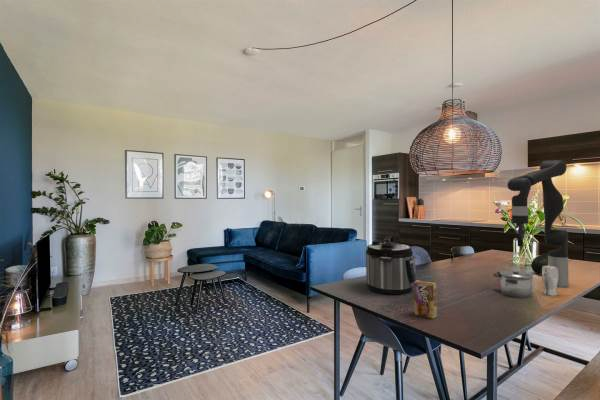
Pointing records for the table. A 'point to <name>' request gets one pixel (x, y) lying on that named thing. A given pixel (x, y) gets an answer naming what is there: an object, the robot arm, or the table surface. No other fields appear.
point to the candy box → (425, 299)
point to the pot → (515, 286)
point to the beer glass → (550, 280)
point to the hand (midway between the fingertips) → (520, 246)
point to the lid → (515, 274)
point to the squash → (539, 263)
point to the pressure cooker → (390, 267)
